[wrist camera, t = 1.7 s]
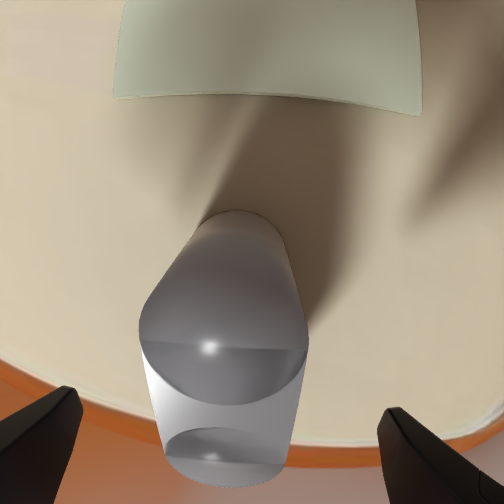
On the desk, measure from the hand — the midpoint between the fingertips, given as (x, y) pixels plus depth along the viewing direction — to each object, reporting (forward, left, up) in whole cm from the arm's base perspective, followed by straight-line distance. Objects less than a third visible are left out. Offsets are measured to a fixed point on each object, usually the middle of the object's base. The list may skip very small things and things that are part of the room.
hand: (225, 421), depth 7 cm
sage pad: (-1, -16, -6) cm, 17 cm away
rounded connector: (0, 0, -6) cm, 6 cm away
